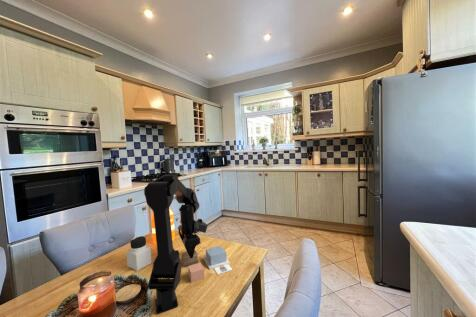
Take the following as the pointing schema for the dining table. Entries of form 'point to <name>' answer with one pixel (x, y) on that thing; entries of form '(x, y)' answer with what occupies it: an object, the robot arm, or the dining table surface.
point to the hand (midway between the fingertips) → (189, 253)
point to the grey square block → (216, 257)
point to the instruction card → (223, 269)
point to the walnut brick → (189, 259)
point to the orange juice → (171, 226)
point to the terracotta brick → (196, 272)
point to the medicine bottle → (138, 253)
